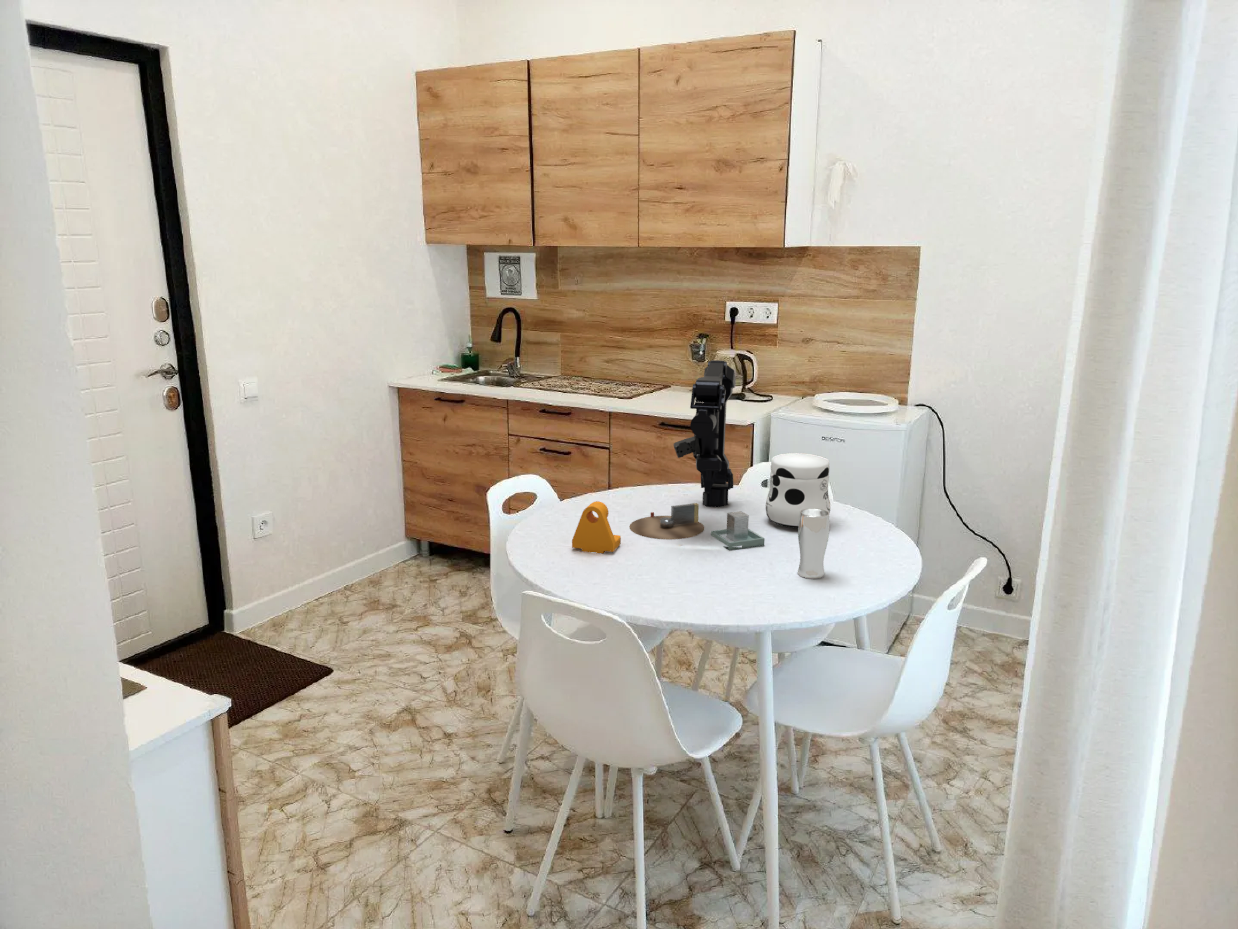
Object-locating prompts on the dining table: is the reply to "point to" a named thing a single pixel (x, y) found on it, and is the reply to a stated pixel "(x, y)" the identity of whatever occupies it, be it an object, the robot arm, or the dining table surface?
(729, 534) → the block
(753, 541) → the tray
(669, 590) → the dining table surface
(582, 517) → the bracket
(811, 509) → the beer glass
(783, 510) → the milk container
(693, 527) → the base
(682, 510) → the crank
